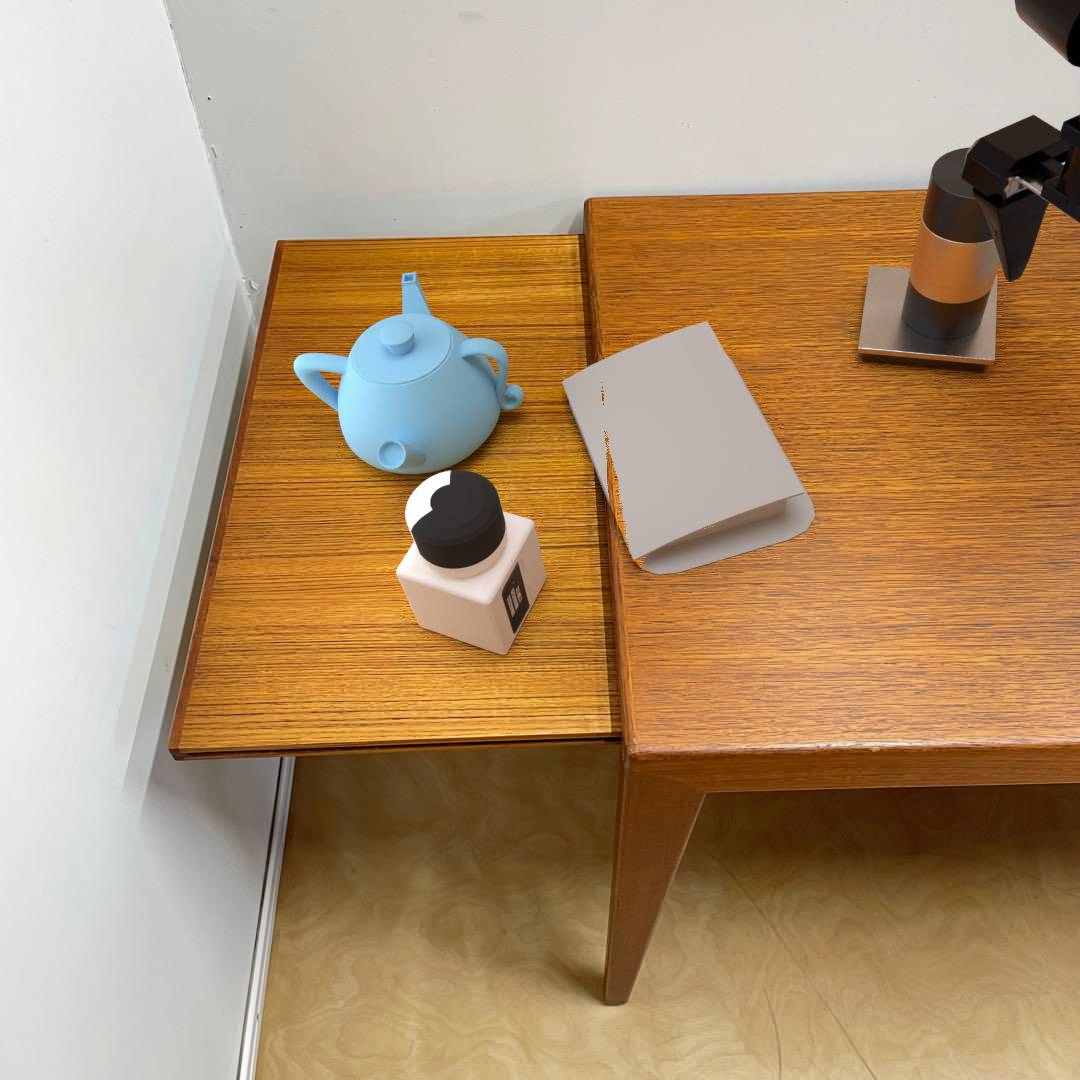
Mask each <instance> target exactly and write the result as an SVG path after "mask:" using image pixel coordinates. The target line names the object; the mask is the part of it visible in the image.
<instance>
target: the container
mask: <svg viewBox="0 0 1080 1080" xmlns="http://www.w3.org/2000/svg"><path fill="white" fill-rule="evenodd" d="M497 490H498V489H497V488H496V486H495V485H494V483H493V482H492V481H491V480H489V478H487V477H485V476H484V475H482V474H481V473H480V474H479V473H477V472H475V471H470V470H464V469H452V470H445V471H442V472H438V473H436V474H434V475H432V476H430V477H429V478H427V479H426V480H424V481H422V482H421V484H419V485H418V486H417V488H416V489H414V490H413V492H412V493H411V495H410V496H409V498H408V500H407V502H406V506H405V510H404V511H405V512H404V514H405V515H404V516H405V517H404V518H405V522H406V525H407V527H408V530H409V533H410V535H411V538H412V540H413V543H412V544H411V546H410V547H409V549H408V550H407V552H406V554H405V555H404V556H403V558H402V560H401V562H400V564H399V565H398V567H397V568H396V572H395V574H396V577H397V579H398V581H399V583H400V586H401V588H402V590H403V592H404V594H405V597H406V599H407V601H408V603H409V606H410V608H411V610H412V613H413V615H414V618H415V619H416V622H417V623H418V624H417V625H418V626H420V627H421V628H422V629H425V630H427V631H430V632H434V633H436V634H439V635H442V636H446V637H448V638H450V639H451V638H452V639H454V640H457V641H459V642H463V643H466V644H468V645H472V646H474V647H477V648H480V649H483V650H486V651H488V652H492V653H494V654H497V655H500V656H505V655H507V654H508V653H509V651H510V649H511V647H512V645H513V643H514V641H515V639H516V637H517V635H518V634H519V631H520V630H521V628H522V627H523V624H524V622H525V620H526V619H527V617H528V615H529V613H530V611H531V609H532V607H533V605H534V603H535V602H536V599H537V598H538V596H539V595H540V592H541V590H542V588H543V586H544V584H545V582H546V580H547V572H546V569H545V564H544V560H543V556H542V550H541V545H540V542H539V537H538V534H537V529H536V524H535V522H534V520H533V519H531V518H528V517H524V516H521V515H517V514H514V513H510V512H508V511H504V510H503V507H502V503H501V500H500V495H499V492H498V491H497Z"/></svg>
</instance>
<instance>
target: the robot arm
mask: <svg viewBox="0 0 1080 1080" xmlns="http://www.w3.org/2000/svg"><path fill="white" fill-rule="evenodd" d="M1014 6H1015V12H1016V13H1017V15H1018V17H1019V19H1020V20H1021V21H1022V22H1023V23H1024V24H1026V25H1027V26H1028V27H1029V28H1030V29H1031V30H1032V31H1033V32H1035V34H1037V35H1038V36H1039V37H1040V38H1041V39H1042V40H1043V41H1045V42H1046V44H1048V45H1049V46H1050V47H1051V48H1052V49H1053V50H1054V51H1055V52H1056V53H1058V54H1059V55H1060V56H1061V57H1062V58H1063V59H1064V60H1066V61H1067V63H1069V64H1070V65H1072V66H1073V67H1076V68H1080V0H1014ZM969 147H970V148H969V150H968V151H967V155H966V159H965V163H964V167H963V171H962V177H961V178H962V179H963V180H964V181H966V182H967V183H969V184H970V185H971V186H973V189H972V196H973V197H974V198H975V199H977V200H978V202H979V204H980V206H981V209H982V211H983V214H984V216H985V219H986V221H987V224H988V226H989V229H990V231H991V234H992V237H993V240H994V243H995V246H996V249H997V252H998V255H999V258H1000V265H1001V267H1002V270H1003V271H1002V272H1003V274H1004V278H1005V280H1006V281H1007V282H1009V283H1012V282H1014V281H1016V280H1018V279H1021V277H1022V276H1023V274H1024V273H1025V270H1026V268H1027V266H1028V264H1029V262H1030V259H1031V257H1032V253H1033V251H1034V248H1035V247H1034V246H1035V245H1036V241H1037V238H1038V235H1039V232H1040V230H1041V227H1042V223H1043V220H1044V217H1045V214H1046V211H1047V208H1048V207H1049V205H1050V204H1051V205H1052V206H1053V207H1055V208H1056V209H1057V210H1059V211H1061V212H1062V213H1063V214H1065V215H1066V216H1068V217H1069V218H1070V219H1072V220H1074V221H1075V222H1077V223H1078V224H1080V114H1078V115H1075V116H1072V117H1071V118H1068V119H1066V120H1064V121H1063V122H1062V125H1061V129H1058V128H1056V127H1055V126H1053V125H1051V124H1050V123H1048V122H1046V121H1045V120H1043V119H1042V118H1040V117H1038V116H1037V115H1035V114H1031V115H1029V116H1027V117H1025V118H1022V119H1020V120H1018V121H1016V122H1013V123H1011V124H1009V125H1007V126H1004V127H1002V128H1000V129H997V130H994V131H993V132H991V133H987V134H986V135H984V136H981V137H980V138H979V137H978V138H977V139H976V140H975V141H974V142H973V143H972V145H971V146H969Z"/></svg>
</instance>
